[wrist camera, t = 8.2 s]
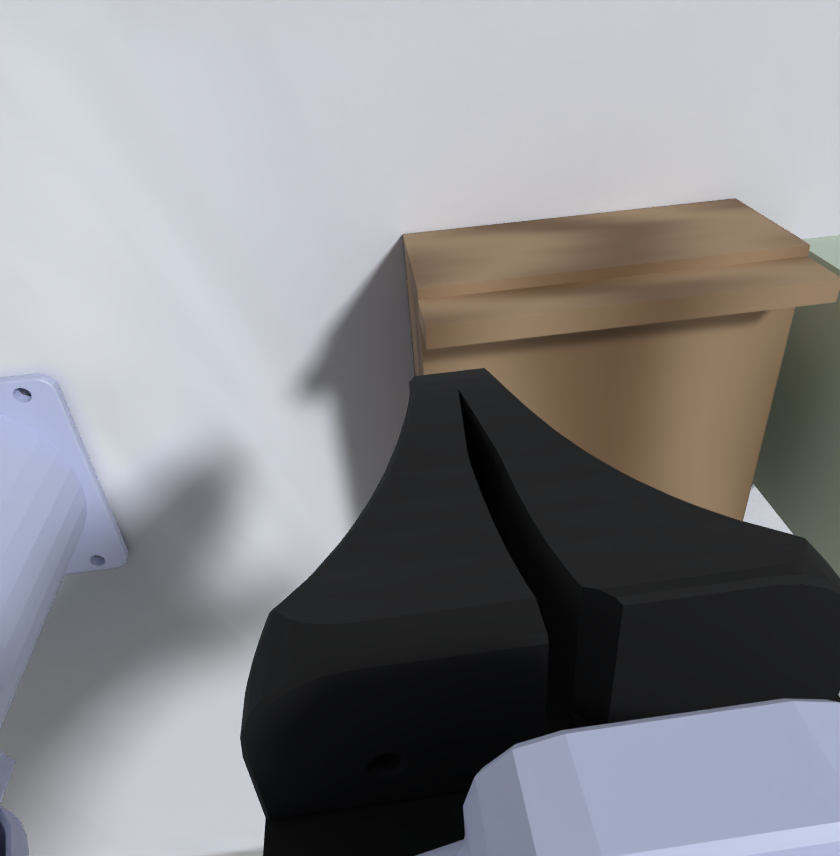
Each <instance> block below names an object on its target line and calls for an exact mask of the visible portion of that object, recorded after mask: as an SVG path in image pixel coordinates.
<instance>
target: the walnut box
mask: <svg viewBox="0 0 840 856" xmlns="http://www.w3.org/2000/svg"><path fill="white" fill-rule="evenodd" d="M403 242H404V254H405V265H406V276H407V288H408V299H409V311H410V322H411V334H412V345H413V357H414V368H415V376H420V375H428V374H437V373H445V372H454V371H462V370H471V369H479V368H485V369H486V370H487V371H489V372H490V373H491V374H492V375H493V376H494V377H495V378H496V379H497V380H498V381H499V382H500V383H501V384H502V385H504V386H505V387H506V388H507V389H508V390H509V391H510V392H511V393H512V394H513V395H514V396H515V397H516V398H518V399H519V400H520V401H521V402H522V403H523V404H524V405H525V406H527V407H528V408H529V409H530V410H531V411H532V412H534V413H535V414H536V415H537V416H538V417H540V418H541V419H542V420H543V421H545V422H546V423H547V424H548V425H549V426H551V427H552V428H553V429H554V430H556V431H557V432H559V433H560V434H561V435H563V436H564V437H566V438H567V439H568V440H570V441H571V442H573V443H574V444H576V445H577V446H578V447H580V448H581V449H583V450H585V451H586V452H588V453H589V454H591V455H592V456H594V457H596V458H598V459H599V460H601V461H603V462H605V463H606V464H608V465H610V466H612V467H613V468H615V469H617V470H619V471H620V472H622V473H624V474H626V475H628V476H630V477H632V478H634V479H636V480H638V481H640V482H642V483H644V484H647V485H649V486H651V487H653V488H655V489H658V490H660V491H662V492H664V493H666V494H669V495H671V496H673V497H676V498H678V499H681V500H683V501H686V502H688V503H691V504H693V505H696V506H699V507H702V508H705V509H707V510H710V511H713V512H716V513H719V514H722V515H725V516H728V517H731V518H734V519H737V520H740V521H743V518H744V514H745V510H746V506H747V502H748V498H749V494H750V490H751V486H752V481H753V477H754V473H755V469H756V465H757V461H758V457H759V453H760V449H761V445H762V441H763V436H764V432H765V428H766V424H767V420H768V416H769V412H770V408H771V404H772V400H773V396H774V391H775V387H776V383H777V379H778V375H779V371H780V367H781V363H782V359H783V355H784V351H785V346H786V342H787V338H788V334H789V330H790V326H791V322H792V318H793V314H794V310H795V307H799V306H807V305H816V304H825V303H833V302H836V301H837V297H838V294H839V290H840V277H839V276H837V275H836V274H834V273H833V272H831V271H830V270H828V269H827V268H825V267H823V266H822V265H820V264H819V263H817V262H816V261H814V260H813V259H811V258H810V257H808V252H809V248H810V244H808V243H807V242H805V241H803V240H802V239H800V238H799V237H797V236H795V235H794V234H792V233H790V232H789V231H787V230H786V229H784V228H782V227H781V226H779V225H778V224H776V223H774V222H773V221H771V220H769V219H768V218H766V217H765V216H763V215H761V214H760V213H758V212H757V211H755V210H753V209H752V208H750V207H748V206H747V205H745V204H744V203H742V202H740V201H739V200H737V199H726V200H717V201H708V202H699V203H689V204H680V205H671V206H661V207H652V208H643V209H633V210H624V211H615V212H606V213H596V214H587V215H578V216H568V217H559V218H550V219H540V220H531V221H522V222H513V223H503V224H494V225H485V226H475V227H466V228H457V229H447V230H438V231H429V232H420V233H410V234H403Z"/></svg>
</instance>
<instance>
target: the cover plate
mask: <svg viewBox="0 0 840 856" xmlns="http://www.w3.org/2000/svg"><path fill="white" fill-rule="evenodd" d="M802 240H803V241H805V242H807V243H808V244H810V248H809V252H808V257H810V258H811V259H813V260H814V261H816V262H817V263H819V264H820V265H822V266H823V267H825V268H827V269H828V270H830V271H831V272H833V273H834V274H836V275H837V276H839V277H840V235H838V236H829V237H820V238H811V239H802ZM752 483H753V484H754V485H755V486H756V488H757V489H758V490H759V491H760V493H761V494H762V495H763V496H764V498H765V499H766V500H767V501H768V503H769V504H770V505H771V507H772V508H773V509H774V510H775V512H776V513H777V514H778V515H779V517H780V518H781V519H782V520H783V522H784V523H785V524H786V525H787V527H788V528H789V529H790V530H791V532H792V533H793V534H794V535H796V536H799V537H803V538H806V540H807V541H808V542H809V543H810V544H811V545H812V546H813V547H814V548H815V549H816V550H817V551H818V552H819V553H820V555H821V556H822V557H823V558H824V559H825V560H826V561H827V562H828V563H829V565H830V566H831V567H832V569H833V570H834V571H835V572H836V574H837V575H838V576H839V578H840V290H839V294H838V297H837V301H836V302H833V303H825V304H816V305H807V306H799V307H795V310H794V314H793V318H792V322H791V326H790V330H789V334H788V338H787V342H786V346H785V351H784V355H783V359H782V363H781V367H780V371H779V375H778V379H777V383H776V387H775V391H774V396H773V400H772V404H771V408H770V412H769V416H768V420H767V424H766V428H765V432H764V436H763V441H762V445H761V449H760V453H759V457H758V461H757V465H756V469H755V473H754V477H753V481H752Z"/></svg>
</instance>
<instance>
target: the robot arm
mask: <svg viewBox="0 0 840 856" xmlns="http://www.w3.org/2000/svg"><path fill="white" fill-rule="evenodd" d="M409 386H410V398H409V404H408V409H407V413H406V418H405V421H404V424H403V427H402V430H401V434H400V437H399V440H398V442H397V445H396V447H395V450H394V452H393V454H392V457H391V459H390V462H389V464H388V466H387V469H386V471H385V473H384V475H383V477H382V479H381V481H380V483H379V485H378V486H377V488H376V490H375V492H374V493H373V495H372V497H371V499H370V500H369V502H368V504H367V505H366V507H365V508H364V510H363V511H362V513H361V514H360V516H359V517H358V519H357V520H356V522H355V523H354V525H353V526H352V528H351V529H350V530H349V532H348V533H347V534H346V536H345V537H344V538H343V539H342V541H341V542H340V543H339V544H338V545H337V547H336V548H335V549H334V550H333V551H332V552H331V553H330V555H329V556H328V557H327V558H326V559H325V560H324V561H323V563H322V564H321V565H320V566H319V567H318V568H317V569H316V571H315V572H314V573H313V574H312V575H311V576H310V577H309V578H308V579H307V580H306V581H305V582H304V583H302V584H301V585H300V586H299V587H298V588H297V589H296V590H295V591H293V592H292V593H291V594H290V595H289V596H288V597H287V598H286V599H285V600H283V601H282V602H281V603H280V604H279V605H277V606H276V607H275V608H274V609H273V610H272V611H271V612H270V613H269V615H268V618H267V620H266V623H265V626H264V628H263V631H262V634H261V637H260V639H259V642H258V646H257V649H256V652H255V655H254V658H253V662H252V666H251V670H250V674H249V678H248V682H247V687H246V692H245V699H244V708H243V717H242V726H241V735H240V740H241V747H242V754H243V759H244V761H245V764H246V767H247V769H248V772H249V775H250V777H251V780H252V783H253V785H254V788H255V791H256V793H257V796H258V799H259V801H260V804H261V807H262V809H263V812H264V815H265V817H266V822H265V837H264V851H263V856H840V697H839V695H838V694H839V692H840V578H839V576H838V575H837V574H836V572H835V571H834V570H833V569H832V567H831V566H830V565H829V563H828V562H827V561H826V560H825V559H824V558H823V557H822V556H821V555H820V553H819V552H818V551H817V550H816V549H815V548H814V547H813V546H812V545H811V544H810V543H809V542H808V541H807V540H806V538H803V537H799V536H796V535H792V534H788V533H785V532H781V531H777V530H773V529H770V528H766V527H762V526H759V525H755V524H751V523H747V522H744V521H740V520H737V519H734V518H731V517H728V516H725V515H722V514H719V513H716V512H713V511H710V510H707V509H705V508H702V507H699V506H696V505H693V504H691V503H688V502H686V501H683V500H681V499H678V498H676V497H673V496H671V495H669V494H666V493H664V492H662V491H660V490H658V489H655V488H653V487H651V486H649V485H647V484H644V483H642V482H640V481H638V480H636V479H634V478H632V477H630V476H628V475H626V474H624V473H622V472H620V471H619V470H617V469H615V468H613V467H612V466H610V465H608V464H606V463H605V462H603V461H601V460H599V459H598V458H596V457H594V456H592V455H591V454H589V453H588V452H586V451H585V450H583V449H581V448H580V447H578V446H577V445H576V444H574V443H573V442H571V441H570V440H568V439H567V438H566V437H564V436H563V435H561V434H560V433H559V432H557V431H556V430H554V429H553V428H552V427H551V426H549V425H548V424H547V423H546V422H545V421H543V420H542V419H541V418H540V417H538V416H537V415H536V414H535V413H534V412H532V411H531V410H530V409H529V408H528V407H527V406H525V405H524V404H523V403H522V402H521V401H520V400H519V399H518V398H516V397H515V396H514V395H513V394H512V393H511V392H510V391H509V390H508V389H507V388H506V387H505V386H504V385H502V384H501V383H500V382H499V381H498V380H497V379H496V378H495V377H494V376H493V375H492V374H491V373H490V372H489V371H487V370H486V369H485V368H479V369H471V370H462V371H454V372H445V373H437V374H428V375H420V376H415V377H414V378H413V379H412V380H411V381H410V382H409ZM18 388H24V389H26V390H28V391H29V392H30V393H31V395H32V396H25V395H23V394H21V393H20V392H19V390H18ZM94 555H99V556H101V557H103V558H98V557H95V556H94ZM127 557H128V549H127V547H126V545H125V542H124V540H123V537H122V535H121V533H120V530H119V528H118V525H117V523H116V521H115V518H114V516H113V513H112V511H111V509H110V506H109V504H108V501H107V499H106V497H105V494H104V492H103V489H102V487H101V485H100V482H99V480H98V477H97V475H96V473H95V470H94V468H93V465H92V463H91V461H90V458H89V456H88V453H87V451H86V449H85V446H84V444H83V441H82V439H81V437H80V434H79V432H78V429H77V427H76V425H75V422H74V420H73V417H72V415H71V412H70V410H69V408H68V405H67V403H66V400H65V398H64V396H63V393H62V391H61V388H60V386H59V384H58V383H57V381H56V380H55V379H53V378H52V377H51V376H48V375H45V374H28V375H19V376H11V377H2V378H0V729H1V726H2V724H3V722H4V719H5V717H6V714H7V712H8V710H9V707H10V705H11V702H12V700H13V698H14V695H15V693H16V690H17V688H18V685H19V683H20V681H21V678H22V676H23V673H24V671H25V669H26V666H27V664H28V661H29V659H30V657H31V654H32V652H33V649H34V647H35V645H36V642H37V640H38V637H39V635H40V632H41V630H42V628H43V625H44V623H45V620H46V618H47V616H48V613H49V611H50V608H51V606H52V604H53V601H54V599H55V596H56V594H57V591H58V589H59V587H60V584H61V582H62V579H63V577H64V575H65V574H71V573H79V572H87V571H95V570H103V569H110V568H117V567H121V566H122V565H124V564H125V562H126V560H127ZM14 766H15V761H14V759H12V758H11V757H9V756H8V755H6V754H5V753H4V752H3V751H2V750H1V749H0V803H1V800H2V798H3V795H4V792H5V790H6V787H7V784H8V782H9V779H10V776H11V774H12V771H13V769H14ZM28 854H29V849H28V842H27V835H26V832H25V830H24V827H23V825H22V823H21V822H20V821H19V819H18V818H17V817H16V816H15V815H14V814H13V813H12V812H10V811H8V810H6V809H5V808H3V807H1V806H0V856H28Z"/></svg>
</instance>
